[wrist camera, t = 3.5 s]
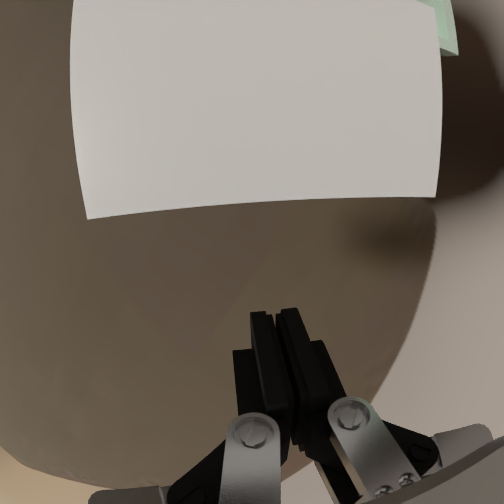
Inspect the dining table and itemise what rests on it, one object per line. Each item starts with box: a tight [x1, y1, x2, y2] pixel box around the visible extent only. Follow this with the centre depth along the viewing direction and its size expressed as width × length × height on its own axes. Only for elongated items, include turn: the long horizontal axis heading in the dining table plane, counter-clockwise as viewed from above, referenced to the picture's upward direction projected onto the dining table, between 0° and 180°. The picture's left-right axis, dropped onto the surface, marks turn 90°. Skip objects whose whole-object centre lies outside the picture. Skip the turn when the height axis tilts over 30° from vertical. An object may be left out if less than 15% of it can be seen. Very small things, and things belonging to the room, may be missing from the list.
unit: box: [70, 0, 442, 219], centre depth 9 cm, size 6×8×10 cm
